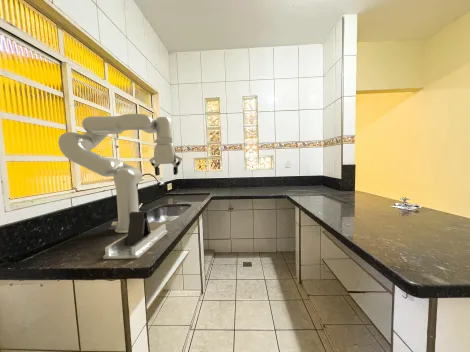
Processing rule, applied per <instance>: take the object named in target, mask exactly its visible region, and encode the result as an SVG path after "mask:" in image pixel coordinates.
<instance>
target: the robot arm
mask: <svg viewBox="0 0 470 352" xmlns="http://www.w3.org/2000/svg"><path fill="white" fill-rule="evenodd" d="M81 124H82V128H83V129H84V130H85V132H84V133H83V134H82V133H78V132H70V131H69V132H68V131H67V132H64V133H62V134H61V135H60V136H59V137H58V142H57V143H58V147H59V150H60V151H61V153H62V154H63V156H64V157H65V158H67V159H68V160H70V161H71V162H72V163H75V164H76V165H79V166H81V167H83V168H85V169H87V170H90V171H92V172H93V173H96V174H98V175H99V176H102V177H108V178H109V177H113V182H114V186H115V191H116V192H115V194H116V202H117V203H116V204H117V219H118V220H117V221H112V223H111V225H110V226H111V227H115V229H114V232H115V233H118V234H124V233H127V234H128V228H129V221H130V218H129V214H130V213H131V212H140V209H139V207H140V206H139V193H138V187H137V184H139V183H140V182H141V181H142V179H143V174H142V172H141V171H140V169H138V168H137V167H134V166H132V165H131V164H128V163H126V162H123V161H122V160H119V159H116V158H109V157H105V156H103V155H100V154H98V153H96V152H95V151H92V150H94V149H95V148H96V147H97V146H98V145H99V144H101V142H102V141H104V140H105V139H106V138H107V137H108V135H119V134H123V132H125V131H134V130H135V131H136V130H137V131H139V130H140V131H143V132H144V133H147V134H155V133H156V139H155V140H154V143H155V145H154V153H153V155H154V156H153V157H151V158H150V159H149V160H148V161H149V163H150V165H151V166H152V167H153V169H154V174H155V176H161V175H160V174H161V173H160V172H161V171H160V166H161V165H166V164H167V165H168V164H171V165H172V166H173V167H172V168H173V176H176V175H178V173H179V167H180V165H181V162H183V157H181V156H178V155H177V154H176V149H175V144H173V132H172V120H171V118H170V117H166V116H159V117H156V118H155V119H154V118H152V117H151V116H149V115H148V114H144V113H125V114H121V115H117V116H116V115H115V116H114V115H113V116H111V115H110V116H107V115H106V116H100V115H99V116H87V117H84V118H83V120H82V122H81Z"/></svg>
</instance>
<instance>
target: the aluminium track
mask: <svg viewBox="0 0 470 352" xmlns="http://www.w3.org/2000/svg"><path fill="white" fill-rule="evenodd" d="M150 231H151V233H150V234H149V235H147V236H146V237H144V238H143V239H142V240H140V241H139V242H138V243H136V244H135V245H126V242H127V235H128V233H127V234H126V235H124V236H122V237H120V238H119V239H117V240H115V241H114V242H112V243H111V244H108V245H107V246H105V248H104V251H105V254H104V255H103V260H117V259H118V260H120V259H124V260H125V259H126V260H127V259H128V260H129V259H139V258H140V257H142V255H144V254H145V252H147V251H148V250H149V249H151V248H152V247H153V246H154V245H155V244H156V243H157V242H158V241H159V240H160V239H161V238H163V237H164V236H165V235H166V234H168V233H169V231H168V230H167V226H166V223H162V224H161V225H160V226H158V227H157V228H155V229H153V230H152V229H150Z"/></svg>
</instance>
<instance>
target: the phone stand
mask: <svg viewBox="0 0 470 352" xmlns="http://www.w3.org/2000/svg"><path fill="white" fill-rule="evenodd" d="M129 218H130V221H129V228H128V232H127V234H128V235H127V234H126V235H127V242H126V245H135V244H136V243H138V242H139V241H140V240H142V239H143V238H144V237H146V236H147V235H149V234H150V233H151V231H150V230H151V228H150V223H149V220H148V213H147V211H139V212H131V213H130V214H129Z"/></svg>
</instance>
